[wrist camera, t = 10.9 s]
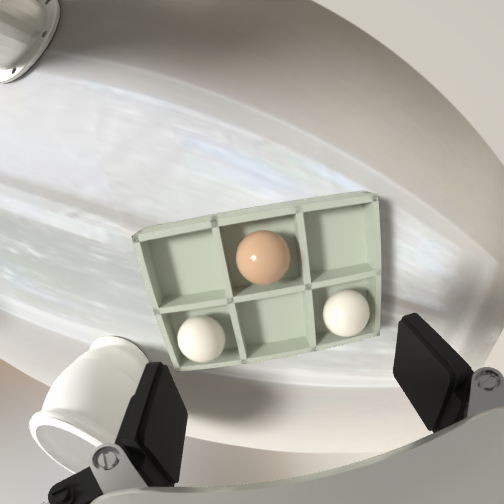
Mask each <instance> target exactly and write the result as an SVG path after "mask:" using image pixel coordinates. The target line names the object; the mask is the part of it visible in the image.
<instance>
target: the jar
mask: <svg viewBox="0 0 504 504" xmlns="http://www.w3.org/2000/svg"><path fill="white" fill-rule="evenodd" d="M147 363H149V361H148V359H147V357H146V356H145V355H144V353H143V352H142V351H141V350H140V349H139V348H138V347H137V346H135V345H134V344H132V343H131V342H129V341H127V340H125V339H123V338H119V337H115V336H104V337H101V338H99V339H97V340H96V341H94V342H93V344H92V345H91V347H90V350H89V351H87V352H85V353H84V354H82V355H81V356H80V357H78V358H77V359H76V360H75V361H74V362H73V363H72V364H71V365H70V366H68V367H67V368H66V369H65V370H64V371H63V372H62V373H61V374H60V375H59V377H58V378H57V379H56V381H55V382H54V383H53V385H52V387H51V388H50V390H49V392H48V394H47V396H46V399H45V401H44V404H43V407H42V411H39V412H37V413H35V414H34V415H33V416H32V418H31V419H30V421H29V430H30V433H31V435H32V437H33V438H34V440H35V441H36V443H37V444H38V445H39V447H40V448H41V449H42V450H43V451H44V452H45V453H46V454H47V455H48V456H49V457H51V458H52V459H53V460H54V461H56V462H57V463H58V464H60V465H61V466H63V467H64V468H66V469H67V470H69V471H71V472H73V473H75V474H76V473H78V472H80V471H82V470H83V469H85V468H87V467H89V466H90V465H89V456H90V454H91V452H92V451H93V450H94V449H95V448H96V447H98V446H99V445H102V444H106V443H112V444H114V443H115V440H116V437H117V434H118V432H119V429H120V426H121V423H122V420H123V418H124V415H125V412H126V409H127V407H128V404H129V401H130V399H131V397H132V396H133V395H135V392H136V389H137V387H138V384H139V381H140V379H141V376H142V373H143V371H144V368H145V366H146V364H147Z"/></svg>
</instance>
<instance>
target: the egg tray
mask: <svg viewBox="0 0 504 504" xmlns="http://www.w3.org/2000/svg"><path fill="white" fill-rule="evenodd" d="M259 230H268V231H272V232H274V233H277V234H278V235H280V236H281V237H282V238H283V239H284V240H285V241H286V243H287V245H288V246H289V249H290V253H291V262H290V266H289V269H288V271H287V272H286V274H285V275H284V276H283V277H282V278H281V279H280V280H279V281H277V282H275V283H273V284H269V285H257V284H254V283H252V282H250V281H248V280H247V279H245V278H244V277H243V276H242V274H241V273H240V271H239V269H238V267H237V264H236V252H237V248H238V246H239V244H240V242H241V241H242V240H243V239H244V238H245V237H246V236H247V235H248V234H250V233H252V232H255V231H259ZM132 240H133V244H134V248H135V251H136V255H137V259H138V262H139V266H140V269H141V273H142V276H143V279H144V283H145V286H146V289H147V292H148V296H149V299H150V302H151V305H152V308H153V311H154V314H155V317H156V320H157V323H158V326H159V329H160V331H161V334H162V337H163V340H164V342H165V345H166V348H167V350H168V353H169V356H170V358H171V361H172V363H173V366H174V369H175V371H176V372H179V371H190V370H200V369H209V368H218V367H226V366H233V365H240V364H247V363H254V362H260V361H266V360H272V359H277V358H283V357H288V356H294V355H299V354H304V353H308V352H313V351H318V350H322V349H327V348H331V347H335V346H340V345H344V344H348V343H352V342H356V341H360V340H364V339H367V338H371V337H375V336H378V335H380V316H381V234H380V215H379V201H378V194H375V193H371V192H367V191H357V192H350V193H342V194H335V195H328V196H321V197H314V198H307V199H300V200H294V201H288V202H281V203H275V204H269V205H263V206H257V207H251V208H245V209H240V210H234V211H228V212H223V213H217V214H212V215H207V216H201V217H196V218H191V219H186V220H181V221H176V222H171V223H166V224H161V225H156V226H152V227H147V228H143V229H141V230H140V231H138V232H137V233H136V234H134V235H133V236H132ZM343 289H351V290H355V291H357V292H359V293H360V294H362V295H363V296H364V297H365V299H366V300H367V302H368V305H369V309H370V316H369V320H368V322H367V324H366V326H365V327H364V329H363V330H362V331H360V332H359V333H358V334H356V335H353V336H349V337H342V336H338V335H336V334H334V333H332V332H331V331H330V330H329V329H328V328H327V326H326V325H325V322H324V319H323V308H324V305H325V303H326V301H327V299H328V298H329V297H330V296H331V295H332V294H333V293H335V292H337V291H339V290H343ZM197 315H206V316H209V317H212V318H213V319H215V320H216V321H218V322H219V323H220V325H221V326H222V328H223V330H224V332H225V337H226V342H225V347H224V349H223V351H222V353H221V354H220V355H219V356H218V357H217V358H216V359H214V360H212V361H209V362H205V363H199V362H195V361H192V360H190V359H188V358H187V357H186V356H185V355H184V354H183V353H182V352H181V350H180V348H179V345H178V340H177V336H178V331H179V329H180V327H181V325H182V324H183V323H184V322H185V321H186V320H187V319H189V318H190V317H193V316H197Z"/></svg>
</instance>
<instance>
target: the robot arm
mask: <svg viewBox="0 0 504 504" xmlns="http://www.w3.org/2000/svg"><path fill="white" fill-rule="evenodd" d="M59 17H60V6H59V3H58V1H57V0H0V83H1V84H2V83H8V82H11V81H13V80H15V79H17V78H18V77H20V76H21V75H22V74H24V73H25V72H26V71H27V70H28V69H29V68H30V67H31V66H32V65H33V64H34V63H35V62H36V61H37V59H38V58H39V57H40V56H41V54H42V53H43V52H44V50H45V49H46V47H47V46H48V44H49V42H50V40H51V39H52V37H53V35H54V32H55V30H56V28H57V25H58V22H59ZM393 374H394V377H395V379H396V380H397V382H398V383H399V385H400V386H401V388H402V389H403V391H404V392H405V394H406V396H407V397H408V399H409V400H410V402H411V403H412V405H413V407H414V408H415V410H416V411H417V413H418V414H419V416H420V418H421V419H422V421H423V422H424V424H425V426H426V427H427V429H428V430H429V431H431V430H432V431H433V434H431V435H429V436H426V437H424V438H422V439H420V440H417V441H415V442H412V443H410V444H408V445H405V446H403V447H400V448H397V449H395V450H392V451H389V452H387V453H384V454H381V455H378V456H376V457H372V458H369V459H366V460H363V461H360V462H356V463H353V464H350V465H346V466H342V467H339V468H334V469H331V470H327V471H322V472H318V473H313V474H309V475H304V476H299V477H293V478H288V479H281V480H275V481H268V482H260V483H251V484H241V485H228V486H208V487H174V484H175V483H178V481H179V475H180V468H181V460H182V453H183V445H184V439H185V432H186V425H187V418H188V414H187V410H186V408H185V405H184V403H183V401H182V399H181V397H180V395H179V392H178V390H177V388H176V386H175V383H174V381H173V379H172V376H171V374H170V372H169V369H168V367H167V366H166V365H163V364H162V363H161V362H153V363H147V364H146V366H145V368H144V371H143V373H142V376H141V379H140V381H139V384H138V387H137V389H136V392H135V395H133V396H132V397H131V399H130V401H129V404H128V407H127V409H126V412H125V415H124V418H123V420H122V423H121V426H120V429H119V432H118V434H117V437H116V440H115V443H114V444H112V443H106V444H102V445H99V446H98V447H96V448H95V449H94V450H93V451H92V452H91V454H90V456H89V465H90V466H89V467H87V468H85V469H83V470H82V471H80V472H78V473H76V474H74V475H72V476H70V477H68V478H67V479H65V480H63V481H61V482H59V483H57V484H55V485H54V486H53V487H52V488H51V489H50V491H49V494H48V500H49V502H48V503H47V504H504V377H503V375H502V374H501V373H500V372H499V371H498V370H496V369H494V368H490V367H483V368H480V369H478V370H476V371H475V372H473V370H472V369H471V367H470V366H469V365H468V364H467V363H466V361H465V360H464V359H463V358H462V357H461V356H460V355H459V354H458V353H457V352H456V351H455V350H454V349H453V348H452V347H451V346H450V345H449V344H448V343H447V342H446V341H445V340H444V339H443V338H442V337H441V336H440V335H439V334H438V333H437V332H436V331H435V330H434V329H433V328H432V327H431V326H430V325H429V324H428V323H427V322H425V321H424V320H423V319H422V318H421V317H420V316H419V315H418V314H417V313H412V314H409V315H405V316H403V317H402V320H401V321H399V324H398V334H397V343H396V352H395V359H394V366H393ZM42 504H46V503H44V502H43V503H42Z"/></svg>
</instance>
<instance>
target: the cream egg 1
mask: <svg viewBox="0 0 504 504" xmlns="http://www.w3.org/2000/svg"><path fill="white" fill-rule="evenodd" d="M177 340H178V345H179V348H180V350H181V352H182V353H183V354H184V355H185V356H186V357H187V358H188V359H190V360H192V361H195V362H199V363H205V362H209V361H212V360H214V359H216V358H217V357H218V356H219V355H220V354H221V353H222V351H223V349H224V347H225V342H226V337H225V332H224V330H223V328H222V326H221V325H220V323H219V322H218V321H216V320H215V319H213V318H212V317H209V316H206V315H197V316H193V317H190V318H189V319H187V320H186V321H185V322H184V323H183V324H182V325H181V327H180V329H179V331H178V336H177Z"/></svg>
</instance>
